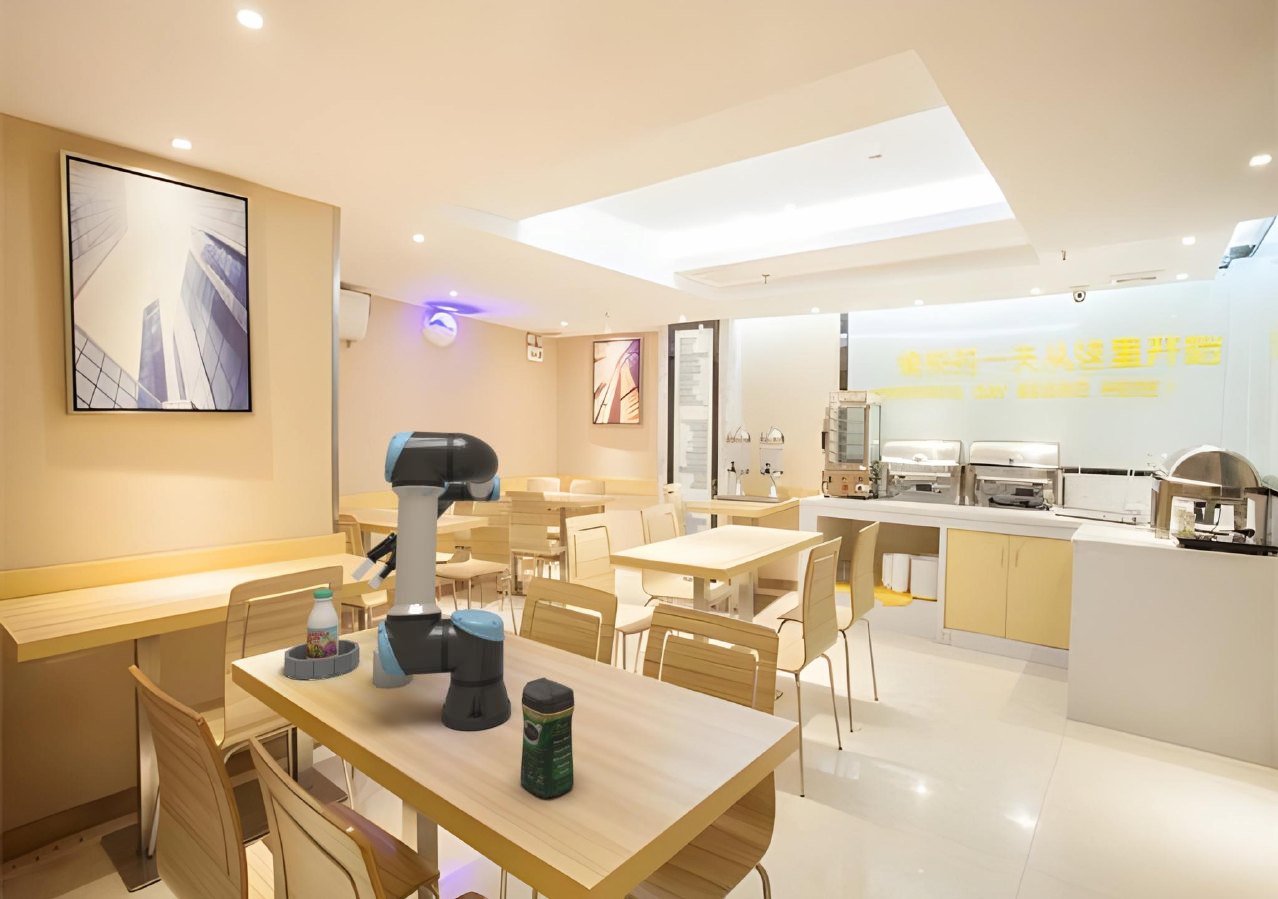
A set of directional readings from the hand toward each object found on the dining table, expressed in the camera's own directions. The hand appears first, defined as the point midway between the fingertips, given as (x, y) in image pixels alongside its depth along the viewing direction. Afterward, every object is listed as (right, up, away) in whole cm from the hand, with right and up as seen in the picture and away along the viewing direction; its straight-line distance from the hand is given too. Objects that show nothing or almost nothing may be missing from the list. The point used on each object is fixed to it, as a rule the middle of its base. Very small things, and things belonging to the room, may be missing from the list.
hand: (362, 582), depth 180 cm
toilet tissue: (+14, -23, -14) cm, 30 cm away
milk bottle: (-8, -21, -7) cm, 24 cm away
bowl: (-8, -22, -7) cm, 24 cm away
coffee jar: (+61, -24, -64) cm, 92 cm away
